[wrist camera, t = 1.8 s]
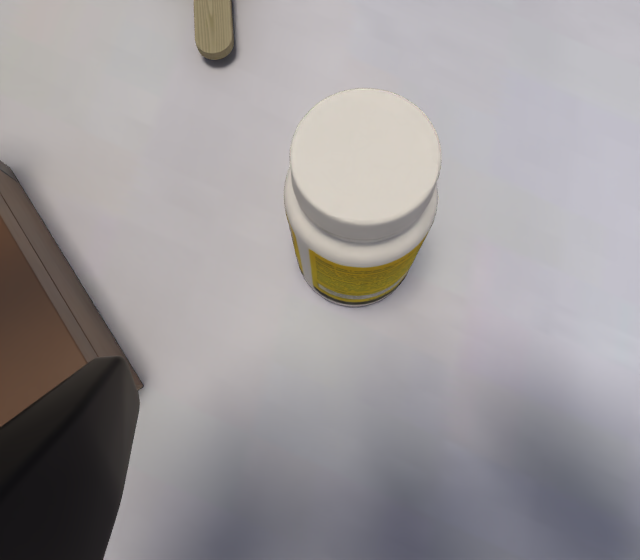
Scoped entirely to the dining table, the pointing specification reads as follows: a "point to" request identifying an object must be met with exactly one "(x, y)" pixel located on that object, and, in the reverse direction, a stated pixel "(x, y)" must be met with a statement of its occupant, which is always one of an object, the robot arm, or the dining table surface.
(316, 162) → the supplement bottle
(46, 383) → the shelf
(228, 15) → the ice cream bar
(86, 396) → the robot arm
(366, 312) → the dining table surface
